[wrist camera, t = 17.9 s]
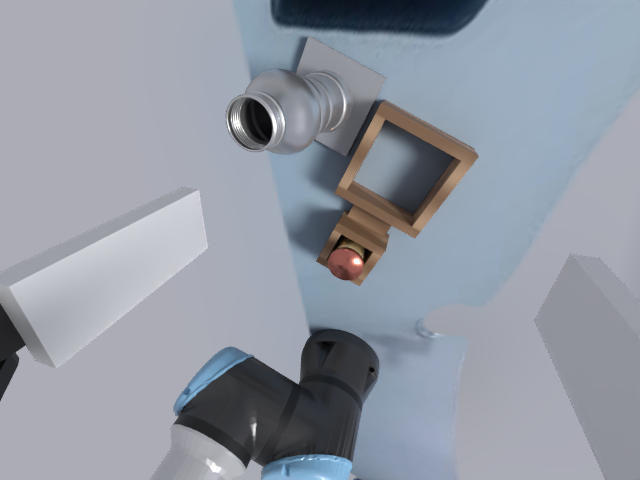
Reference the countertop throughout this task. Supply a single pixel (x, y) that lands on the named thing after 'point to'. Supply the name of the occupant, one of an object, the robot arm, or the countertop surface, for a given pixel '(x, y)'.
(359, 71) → the pad
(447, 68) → the countertop surface
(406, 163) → the countertop surface
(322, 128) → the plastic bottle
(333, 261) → the copper-capped cylinder
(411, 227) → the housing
